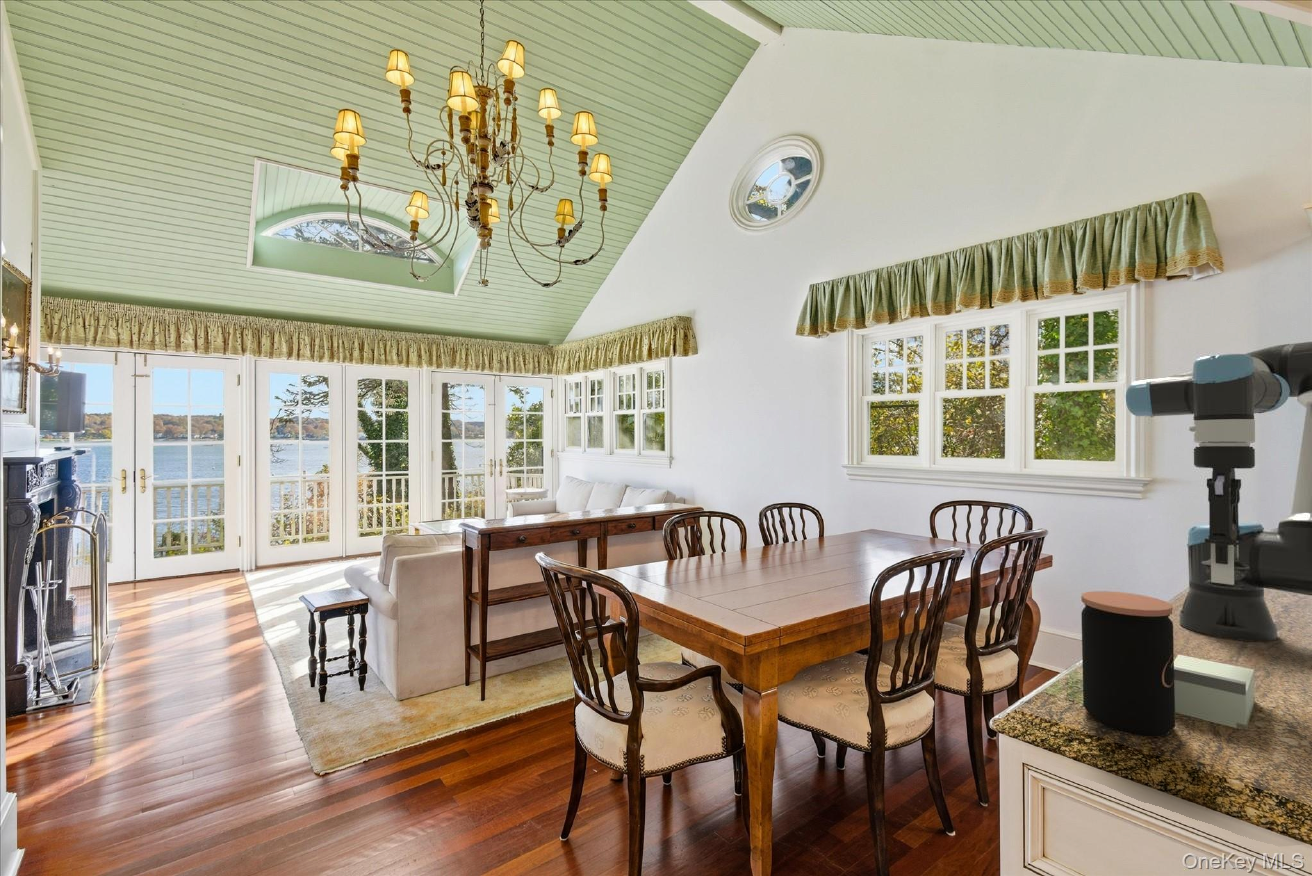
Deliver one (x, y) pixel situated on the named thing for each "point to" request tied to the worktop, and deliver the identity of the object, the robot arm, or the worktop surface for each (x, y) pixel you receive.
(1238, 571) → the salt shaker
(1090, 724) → the worktop surface
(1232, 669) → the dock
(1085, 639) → the coffee jar
